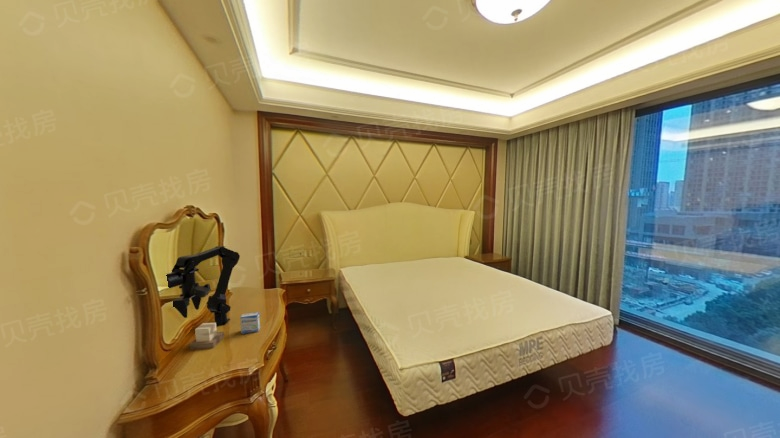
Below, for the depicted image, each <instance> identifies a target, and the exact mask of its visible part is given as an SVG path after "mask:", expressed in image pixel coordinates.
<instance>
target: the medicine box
mask: <svg viewBox="0 0 780 438" xmlns="http://www.w3.org/2000/svg"><path fill="white" fill-rule="evenodd" d="M260 329H261V321H260V312H259V311H257V312H250V313H242V314H241V316H240V331H241V334H242V335H244V334H250V333H257V332H259V331H260Z"/></svg>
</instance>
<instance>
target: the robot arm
mask: <svg viewBox="0 0 780 438" xmlns="http://www.w3.org/2000/svg"><path fill="white" fill-rule="evenodd" d="M217 256H218V257H219V258H221V265H222V267H221V268H222V269H221V271H220V275H219V279H218V281H217V284H216V288H215V291H214V293H213V294H212V295H209V293H210V291H211V285H210V283H206V284H204V285H199V282H198V281H197V280H196V273H195V272H199V271H200V268H197V266H199V265H200V263H203V262H205V261H207V260H210V259H213V258H214V257H217ZM240 257H241V255H240V254H239V252H238V251H233V250H232V249H229V248H226V246H220V245H219V246H218V245H216V246H215V247H213V248H210V249H207V250H204V251H201V252H198V253H195V254H190V255H189V254H188V255H181V256H179V257H178V258H176V261H175V264H174V266H173V268H172V269H171V271H172V272H169V273H166V274H167V275H166V276H167V281H168V287H169V288H170V289H172V288H176V287H178V288H179V289H180V290H181V294H179V297H177V298H175V299H173V300H172V301H173V307H175V308H174V309H176V310H177V311H178V312H179V314H180V315H181V316H182V317H183V319H186V318H188V307H189V306H190V305H191V302H190V299H191V301H192V304H193V307H194V309H195V310H199V309H200V304H201V301H202V298H205V297H206V296H208V295H209V296H208V298H207V301H206V303H205V304H206V308H207V310H208V311H209V312H210V313H212V314H213V315H214V323H216V326H225V325H226V324H228V322H229V321H230V320H231V318H228V313H229V312H230V311H231V308H232V307H231V306H230V305H228V304H227V297H226V293H227V289H228V285H229V283H230V279H231V276H232V273H233V269H234V267H235V266H237V264H238V263H239V260H240V259H241V258H240ZM196 281H197V282H196ZM173 307H172V308H173Z"/></svg>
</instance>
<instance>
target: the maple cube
mask: <svg viewBox="0 0 780 438" xmlns="http://www.w3.org/2000/svg"><path fill="white" fill-rule="evenodd" d="M217 332H218V329H217V325H216V323H215V322H202V323H201V324H200V325H199V326H197V327H196V328H195V329H194V333H195V339H196V342H205V341H211V340H212V339H213V338H214V337H215V336H216V335H217Z"/></svg>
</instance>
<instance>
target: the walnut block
mask: <svg viewBox="0 0 780 438" xmlns="http://www.w3.org/2000/svg"><path fill="white" fill-rule="evenodd" d="M223 338H225V332H224V331H217V335H216V336H215V337H214V338H213V339H212V340H211V341H205V342H196V338H195V339H194V340H193V341H192V342H191V343H189V350H190V351H194V350H205V349H207V350H208V349H214V348H216V346H217V345H218V344H219V343H221V341H222V340H223Z"/></svg>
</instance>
